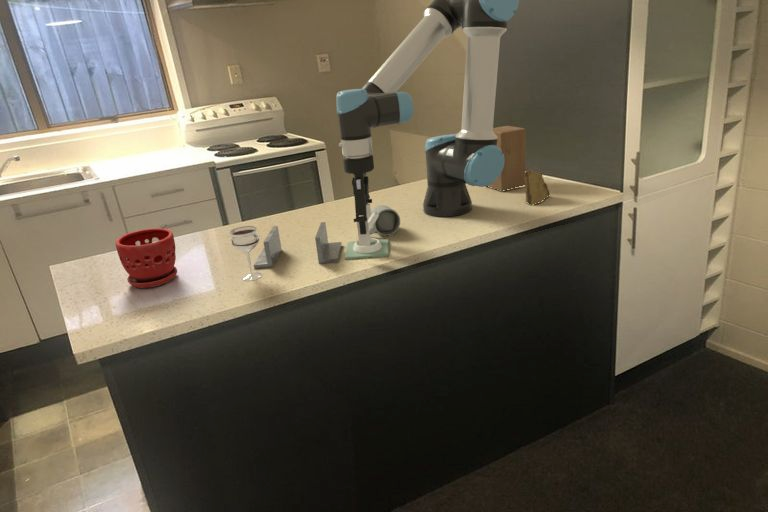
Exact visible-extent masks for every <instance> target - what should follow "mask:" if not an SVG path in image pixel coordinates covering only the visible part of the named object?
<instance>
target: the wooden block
mask: <svg viewBox="0 0 768 512" xmlns="http://www.w3.org/2000/svg"><path fill="white" fill-rule="evenodd" d="M493 132H494V133H495V135H496V136H497V137H498V140H497V147H498V148H500V149H501V150H502V153H503V154H504V167H503V170H502V172H501V174H500V176H499V177H498V178H497V179H496V180H495V182H493V183H492V184H490V185H488V186H489V187H492V188H495V189H498V190H501V191H503V190H507V189H511V188H515V187H519V186H523V185H525V172H526V146H527V144H526V139H527V138H526V135H527V130H526V128H524V127H519V126H514V125H513V126H511V125H505V126H504V125H503V126H498V127H493Z"/></svg>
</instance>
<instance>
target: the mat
mask: <svg viewBox="0 0 768 512" xmlns="http://www.w3.org/2000/svg"><path fill="white" fill-rule="evenodd" d="M378 240H379V241H380V243H381V245H382V248H381V249H380V250H378V251H375V252H371V253H358V252H355V251H354V250H353V247H354V244H355V242H356V241H349V242H347V247H346V252H345V255H344V259H345V260H357V258H359V259H370V258H369V257H373V258H385V257H384V256H386V257H389V239H388V238H386V239H378ZM374 244H376V243H370V245H374ZM370 245H369V246H370Z"/></svg>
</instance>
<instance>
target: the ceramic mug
mask: <svg viewBox="0 0 768 512" xmlns="http://www.w3.org/2000/svg"><path fill="white" fill-rule="evenodd" d="M374 211H376V212H377V213H378V214H379V216H378V218H377V220H376V221H375V223H374V224H373V226H372V228H371V229H370V231H369V235H370V236H371V235H373V234H374V233H377V234H378V235H380V236H383V237H385V236H386V235H389V236H392V235H394V234H395V233H396V232H397V231H398V230H399V228H400V226H401V217H400V215H399V213H398V212H397V211H396V210H395V209H393V208H392V207H389V206H388V205H383V204H382V205H381V204H380V205H376V206H375V207H374V208H372V209H371V215H372V214H373V212H374ZM386 237H387V236H386Z"/></svg>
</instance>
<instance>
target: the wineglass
mask: <svg viewBox="0 0 768 512" xmlns="http://www.w3.org/2000/svg"><path fill="white" fill-rule="evenodd" d="M257 230H258V227H257V226H255V225H246V226H245V225H243V226H238V227H236V228H232V229H230V230H229V232H228V234H229V236H230V238H229V241H230V244H231V245H232V247H233V249H236V251H239V252H243V253H244V254H246V255H245V256H246V259H247V264H248V268H249V273H246V274H244V275H243V276H242V277H241V280H242V281H246V282H250V281H255V280H258V279H261V278H262V276H263V273H261V272H258V271H257V272H256V271H255V272H254V271H253V270H252V262H251V256H250V253H251V251H253V250H254V249H255V248H256V247H257V246H258V244H259V241H260V234H259V233H258V232H257Z"/></svg>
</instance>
